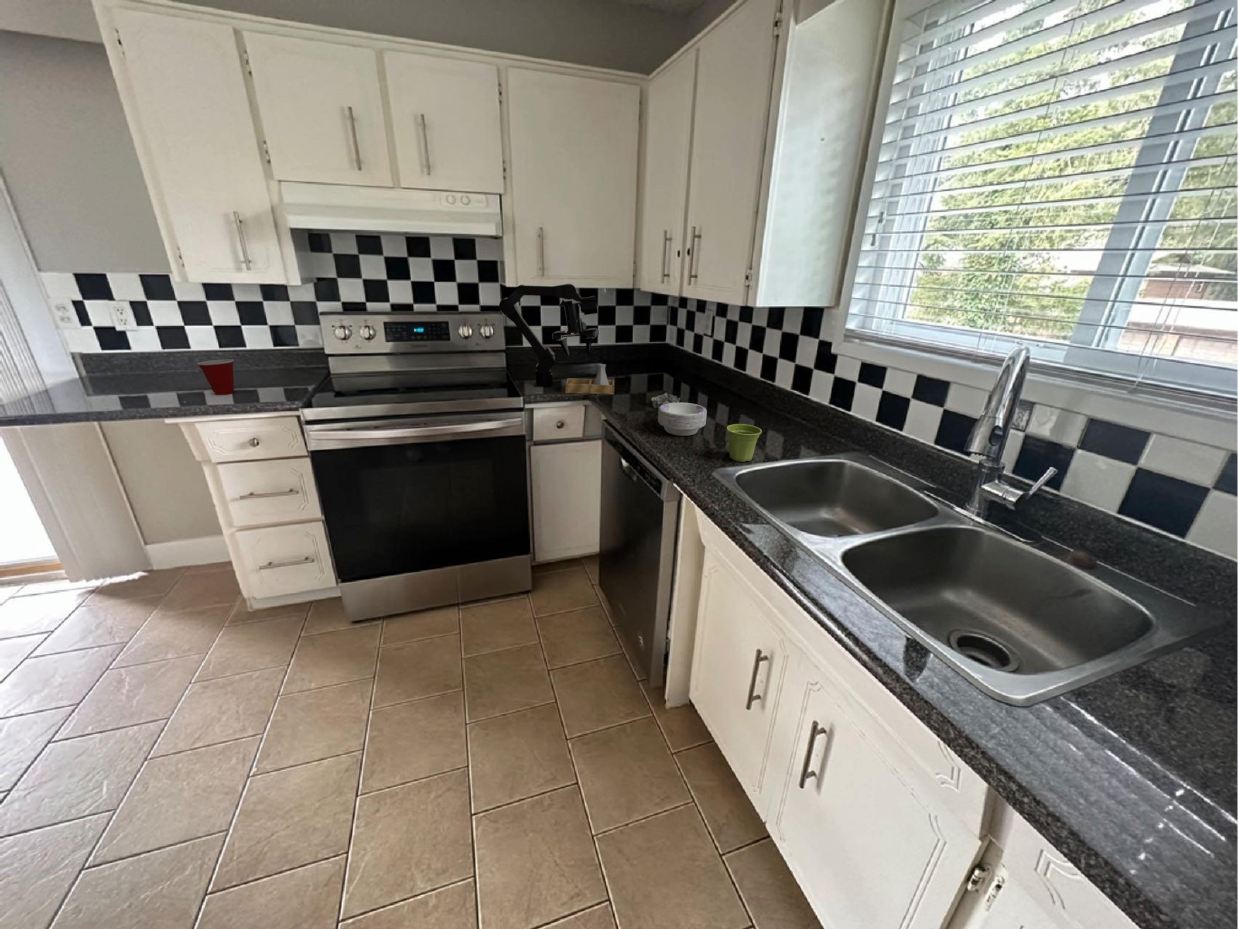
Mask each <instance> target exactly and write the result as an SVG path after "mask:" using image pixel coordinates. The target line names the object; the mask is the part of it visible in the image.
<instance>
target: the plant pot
mask: <svg viewBox="0 0 1238 929" xmlns="http://www.w3.org/2000/svg"><path fill="white" fill-rule="evenodd" d="M726 430H727V434H728V440H729V441H728V444H729V445H728V446H729V459H732V460H733V461H735V462H740V463H744V462H750V461H752V460H753V456H754V452H755V450H756V445H757V442H758V439H759V437H760V436H761V434H762V432H763V430H762V429H761V428H760V427H758V426H755V425H751V424H745V423H735V424H734V423H733V424H729V425H727V427H726Z"/></svg>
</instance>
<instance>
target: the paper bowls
mask: <svg viewBox="0 0 1238 929" xmlns="http://www.w3.org/2000/svg"><path fill="white" fill-rule="evenodd" d="M657 412H658V413H657V414H658V415H657V422H658V424H659V425H660V426H663V430H665V432H667V433H668V434H670V435H674V436H679V437H689V436H693V435H696V434H697V433H698V431H699V430H700V428H703V427H705V426H706V424H707V413H708V410H707V408H706V407H704V406H703V405H700V404H696V403H690V402H678V403H667V404H664V405H661V406H660V407H659V408H658V411H657Z"/></svg>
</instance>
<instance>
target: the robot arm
mask: <svg viewBox="0 0 1238 929" xmlns="http://www.w3.org/2000/svg"><path fill="white" fill-rule="evenodd" d="M524 296H536V297H537V296H538V297H555V298H560V299H561V301H560V303H559V307H563V308H564V313H565V314H564V315H565V321H564V322H565V324H566V328H567V330H566V331H565V330H556V331H554V332H552V333H551V338H552V340H553V341H555V342H556V343H558V344H559V346H560V347H561V349H562V350H563V352H564V353H565V355H566V356H567V357H569V356H570V351H569V346H568V338H570V337H571V338H572V337H586V338H584V339H585V347H586V353H587V356H588V355H590V354H591V349H592V343H593V342H594V339H596V338H597V337H598V336H599V335H600V330H599V329H598V327H594V328H593V327H591V328H587V323H586V322H584V321H583V320H582V317H581V315H580V313H582V314H583V315H584V316H587V315H596V314H598V313H599V312H598V311H599V310H598V304H597V301H596V299H597V298H596V296H595V295H591V296H588V297H587V296H586V297H582V296H581V295H580V294H579V293H578V292H577V288H576V286H575V285H574V284H572V283H564V284H563V283H562V284H558V285H527V284H519V285H518V286H517V287H516V289H515V290H514V291H513V292H512V293H511V294H510V295H509V296H508V297H504V298H503V299H501V301H500V302H499V304H498V308H499V310H500V312H501V313H502V314H503V316H505V317H506V318H508V319H509V320H510V321H511V322H512V323H513V324H514V325H515V326H516V328H517V329H518V330H519V332H520V333H521V335H522V336H524V338H525V340H526V341H527V343H528V344H529V345H530V346H531V348H532V349H533V350H534V352H535V354H536V357H537V359H538V360H539V361H538V362H537V363H536V366H535V385H534V387H546V388H547V387H548V388H551V387H552V385H553V384H554V374H553V373H552V368H553V367H554V365H555V363H556V356H555V352H553V350H552V349H551V347H550V345H547V346H545V345H544V344H543V343H542V342H541V341H540V339H539V338H538V336H537V335H536V334H535V333H534V331H533V330H532V329H531V327H530V326H529V324H528V323H527V321H526V320H525V319H524V318H523V317H522V315H521V312H520V310H519V307H518V305H517V303H518V302H519V301H520V300H521V299H522V298H523V297H524ZM573 301H575V302H573Z"/></svg>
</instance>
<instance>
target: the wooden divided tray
mask: <svg viewBox="0 0 1238 929" xmlns="http://www.w3.org/2000/svg"><path fill="white" fill-rule="evenodd" d="M595 379H596V378H570V377H569V378H567V379H566V381H565V384H564V388H565V394H590V395H592V394H593V395H615V379H608V382H609V385H593V384H594V382H595Z"/></svg>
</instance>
